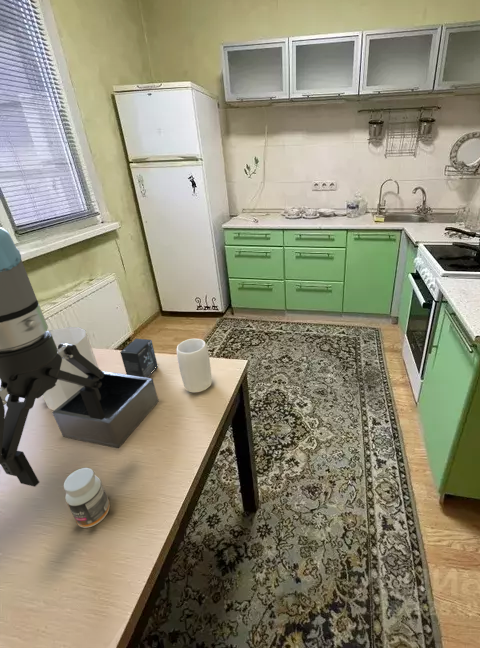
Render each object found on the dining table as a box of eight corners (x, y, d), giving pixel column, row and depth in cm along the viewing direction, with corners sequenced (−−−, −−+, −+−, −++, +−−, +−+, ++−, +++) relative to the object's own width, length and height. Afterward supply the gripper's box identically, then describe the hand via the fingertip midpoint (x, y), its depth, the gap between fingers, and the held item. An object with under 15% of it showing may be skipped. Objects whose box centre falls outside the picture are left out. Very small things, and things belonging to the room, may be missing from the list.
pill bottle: (70, 523, 60) (51, 488, 56) (96, 495, 65) (81, 461, 61) (92, 534, 59) (75, 498, 54) (117, 504, 63) (103, 470, 59)
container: (113, 388, 95) (95, 335, 88) (60, 419, 85) (35, 362, 77) (88, 372, 103) (70, 322, 95) (37, 398, 92) (12, 345, 84)
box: (144, 382, 97) (136, 353, 92) (128, 381, 98) (119, 351, 93) (158, 367, 104) (151, 339, 99) (143, 365, 105) (135, 337, 100)
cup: (217, 378, 98) (211, 338, 92) (206, 397, 90) (199, 355, 84) (191, 376, 99) (183, 336, 93) (178, 394, 92) (169, 353, 86)
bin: (63, 437, 79) (51, 412, 76) (110, 393, 93) (102, 371, 90) (118, 448, 76) (109, 423, 72) (158, 401, 89) (152, 378, 86)
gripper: (-68, 403, 34) (12, 526, 43) (104, 303, 56) (134, 399, 65) (-118, 394, 36) (-30, 514, 45) (69, 301, 58) (102, 394, 67)
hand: (67, 446), depth 55 cm, fingers open, 13 cm apart
